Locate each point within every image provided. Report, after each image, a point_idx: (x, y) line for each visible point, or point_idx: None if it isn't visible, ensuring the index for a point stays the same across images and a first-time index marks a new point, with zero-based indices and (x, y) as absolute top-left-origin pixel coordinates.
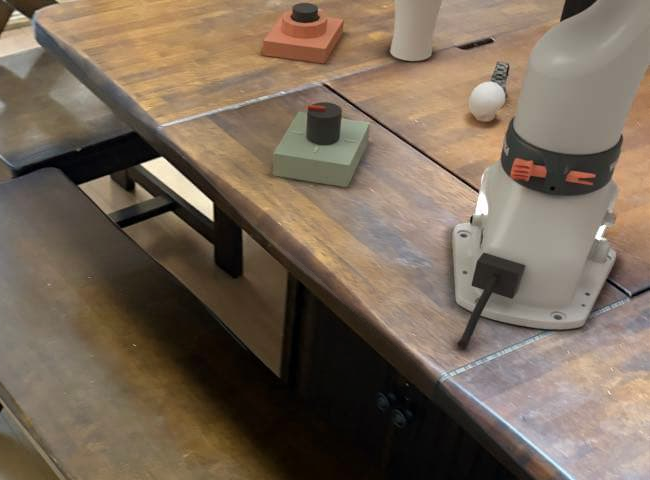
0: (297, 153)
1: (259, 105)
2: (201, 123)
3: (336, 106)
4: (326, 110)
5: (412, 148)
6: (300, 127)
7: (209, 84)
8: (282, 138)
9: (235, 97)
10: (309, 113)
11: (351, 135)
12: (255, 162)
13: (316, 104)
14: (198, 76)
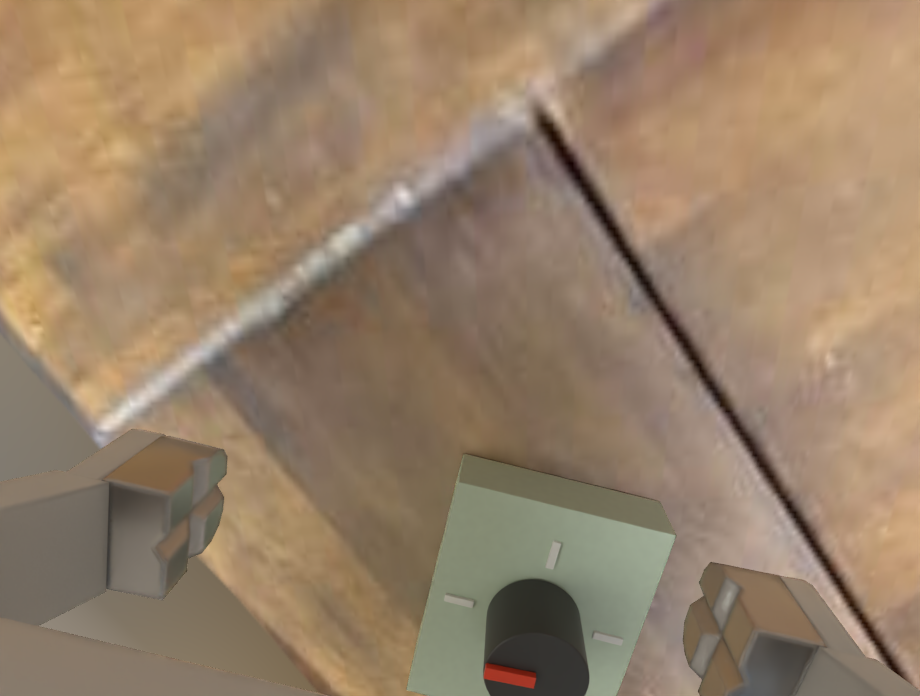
0: (467, 693)
1: (339, 290)
2: (198, 409)
3: (573, 658)
4: (541, 681)
5: (786, 515)
6: (469, 570)
7: (161, 154)
8: (423, 626)
9: (259, 241)
10: (489, 693)
11: (614, 606)
12: (368, 591)
13: (509, 649)
14: (111, 94)
